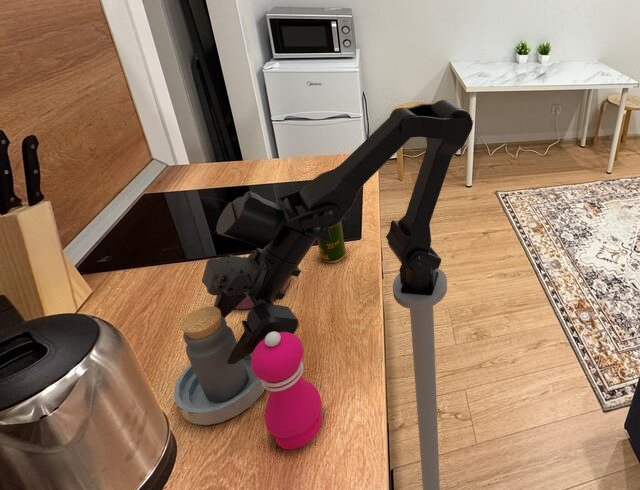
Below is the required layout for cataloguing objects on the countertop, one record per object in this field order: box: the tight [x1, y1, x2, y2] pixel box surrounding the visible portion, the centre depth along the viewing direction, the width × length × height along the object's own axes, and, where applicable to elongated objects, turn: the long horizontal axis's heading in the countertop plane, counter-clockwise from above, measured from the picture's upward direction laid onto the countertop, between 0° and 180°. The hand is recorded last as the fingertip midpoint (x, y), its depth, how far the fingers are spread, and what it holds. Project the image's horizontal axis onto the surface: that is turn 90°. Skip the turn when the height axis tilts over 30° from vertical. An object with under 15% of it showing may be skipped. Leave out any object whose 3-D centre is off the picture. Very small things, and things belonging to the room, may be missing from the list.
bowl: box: [173, 339, 266, 426], centre depth 66 cm, size 12×12×4 cm
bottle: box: [180, 305, 248, 403], centre depth 63 cm, size 6×6×15 cm
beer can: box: [316, 220, 347, 264], centre depth 92 cm, size 5×5×12 cm
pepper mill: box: [251, 332, 322, 451], centre depth 57 cm, size 7×7×20 cm
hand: (220, 343), depth 63 cm, fingers open, 9 cm apart
